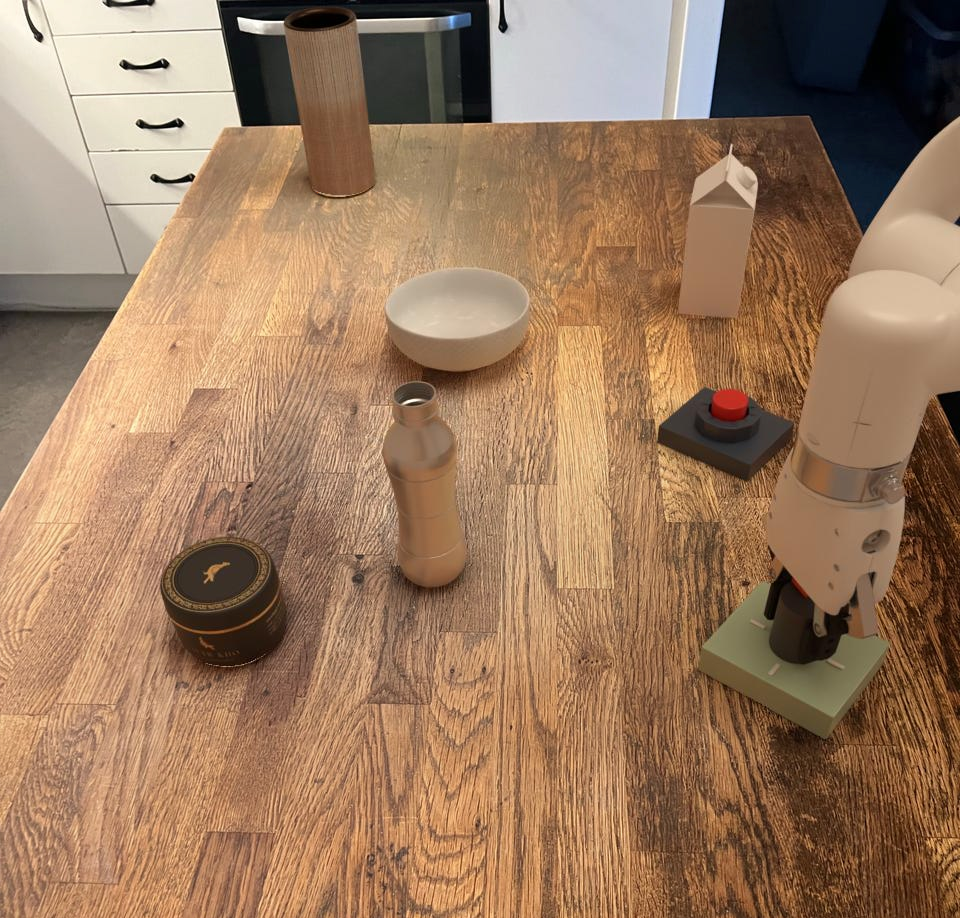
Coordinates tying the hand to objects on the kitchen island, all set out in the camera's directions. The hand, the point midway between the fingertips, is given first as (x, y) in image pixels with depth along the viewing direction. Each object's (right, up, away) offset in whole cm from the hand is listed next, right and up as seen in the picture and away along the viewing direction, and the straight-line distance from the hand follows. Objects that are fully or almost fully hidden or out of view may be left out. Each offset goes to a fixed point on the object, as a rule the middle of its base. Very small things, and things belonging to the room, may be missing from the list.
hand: (798, 633), depth 82 cm
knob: (0, -1, +1) cm, 1 cm away
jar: (-48, 0, +9) cm, 49 cm away
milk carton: (+2, +40, +42) cm, 58 cm away
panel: (0, -3, +3) cm, 4 cm away
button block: (0, +21, +25) cm, 32 cm away
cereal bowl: (-29, +34, +38) cm, 59 cm away
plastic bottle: (-31, +6, +13) cm, 34 cm away
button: (0, +23, +22) cm, 32 cm away
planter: (-47, +70, +72) cm, 111 cm away
